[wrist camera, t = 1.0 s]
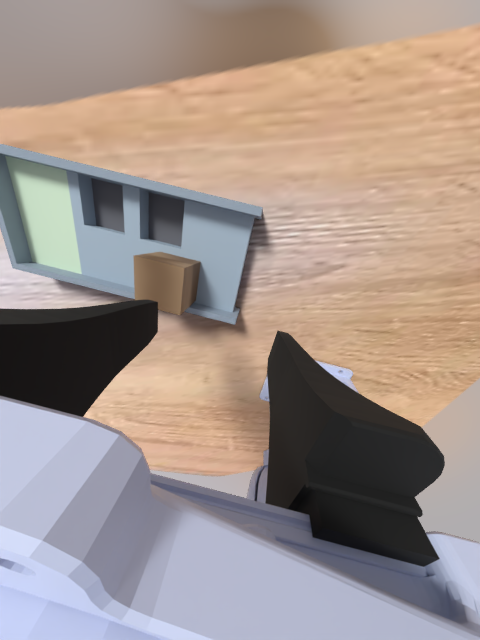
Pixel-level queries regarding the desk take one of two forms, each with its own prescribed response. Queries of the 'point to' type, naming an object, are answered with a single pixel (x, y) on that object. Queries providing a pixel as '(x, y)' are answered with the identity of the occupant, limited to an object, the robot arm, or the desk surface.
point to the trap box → (119, 228)
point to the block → (166, 280)
